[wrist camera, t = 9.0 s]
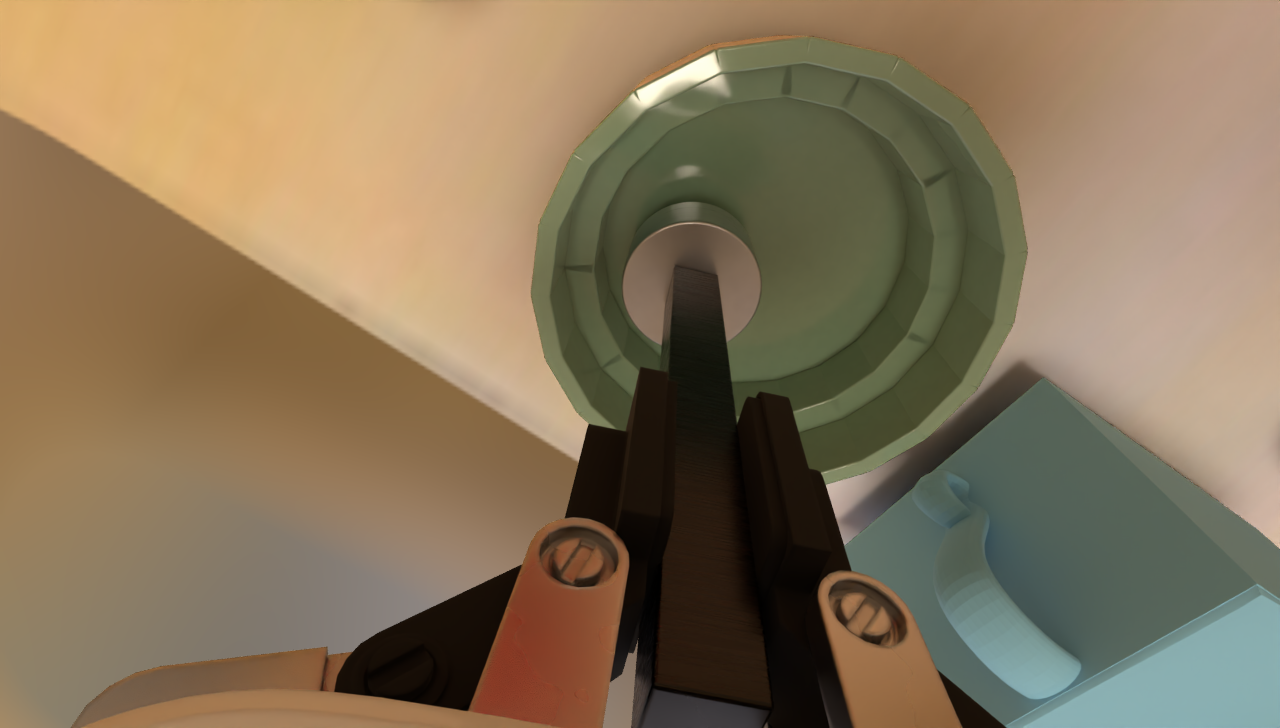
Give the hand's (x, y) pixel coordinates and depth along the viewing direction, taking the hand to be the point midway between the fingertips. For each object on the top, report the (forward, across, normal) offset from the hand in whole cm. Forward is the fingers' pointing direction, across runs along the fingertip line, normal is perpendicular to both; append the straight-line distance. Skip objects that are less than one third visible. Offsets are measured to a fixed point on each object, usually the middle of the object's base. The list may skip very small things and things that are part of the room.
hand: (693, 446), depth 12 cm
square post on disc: (+11, 0, 0) cm, 11 cm away
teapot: (+13, -20, +10) cm, 26 cm away
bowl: (+13, -2, 0) cm, 13 cm away
